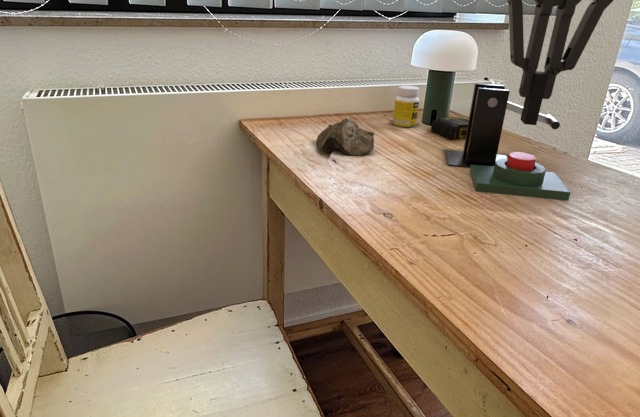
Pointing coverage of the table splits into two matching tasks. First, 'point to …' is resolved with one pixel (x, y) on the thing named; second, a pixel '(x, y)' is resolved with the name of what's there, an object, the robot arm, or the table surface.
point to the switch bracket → (482, 128)
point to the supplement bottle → (406, 107)
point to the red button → (521, 161)
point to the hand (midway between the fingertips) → (528, 122)
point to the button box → (518, 181)
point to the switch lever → (542, 118)
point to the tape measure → (450, 127)
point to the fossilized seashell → (346, 138)
